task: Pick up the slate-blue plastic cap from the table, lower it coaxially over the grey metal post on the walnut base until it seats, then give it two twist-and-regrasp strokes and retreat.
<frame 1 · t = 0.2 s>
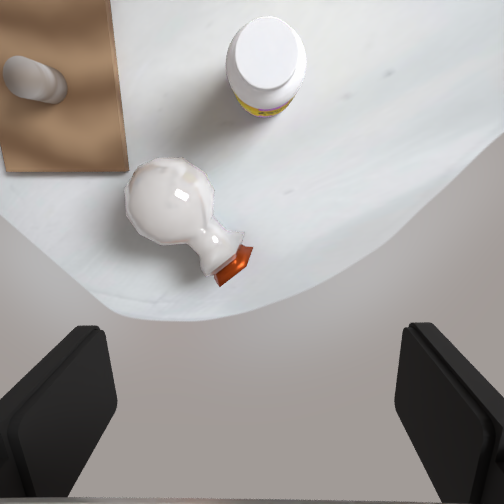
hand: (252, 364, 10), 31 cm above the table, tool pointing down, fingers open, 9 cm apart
potion bottle: (199, 212, 41), on the table
supplement bottle: (265, 85, 36), on the table
post base: (57, 87, 37), on the table
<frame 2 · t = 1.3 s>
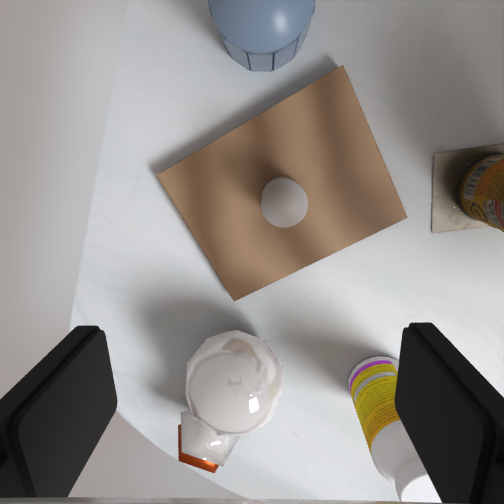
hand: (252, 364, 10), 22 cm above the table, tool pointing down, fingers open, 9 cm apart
potion bottle: (231, 371, 37), on the table
supplement bottle: (377, 378, 37), on the table
post base: (281, 194, 31), on the table
condiment: (479, 187, 30), on the table
cap: (263, 22, 27), on the table
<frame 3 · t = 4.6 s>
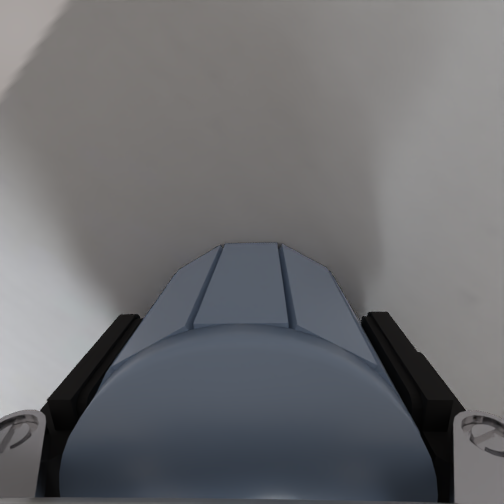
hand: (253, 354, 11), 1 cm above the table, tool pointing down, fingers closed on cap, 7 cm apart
cap: (254, 336, 12), on the table, touching gripper
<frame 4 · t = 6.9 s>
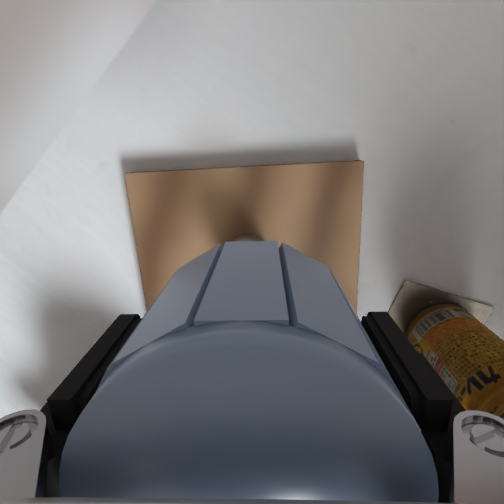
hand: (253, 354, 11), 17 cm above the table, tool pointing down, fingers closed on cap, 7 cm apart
post base: (248, 251, 28), on the table
condiment: (428, 326, 30), on the table
cap: (254, 335, 12), point 16 cm above the table, touching gripper
when the fingers open (4 cm above the table, at t = 9.5 s): cap drops 1 cm, resting on post base.
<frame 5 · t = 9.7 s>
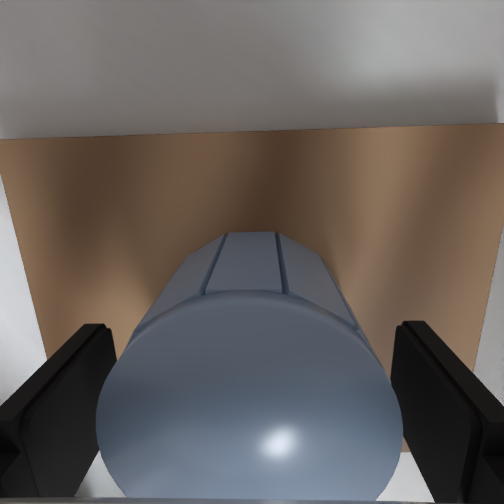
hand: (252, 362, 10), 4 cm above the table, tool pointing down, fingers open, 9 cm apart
post base: (255, 303, 14), on the table
cap: (254, 316, 13), point 1 cm above the table, touching post base
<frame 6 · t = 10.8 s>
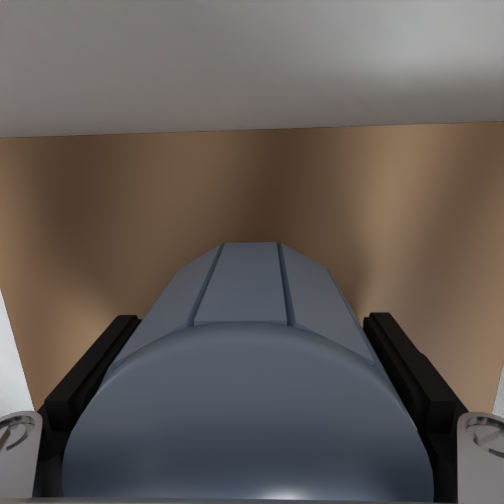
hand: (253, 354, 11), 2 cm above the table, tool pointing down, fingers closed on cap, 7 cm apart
post base: (255, 318, 13), on the table
cap: (253, 335, 12), point 1 cm above the table, touching gripper
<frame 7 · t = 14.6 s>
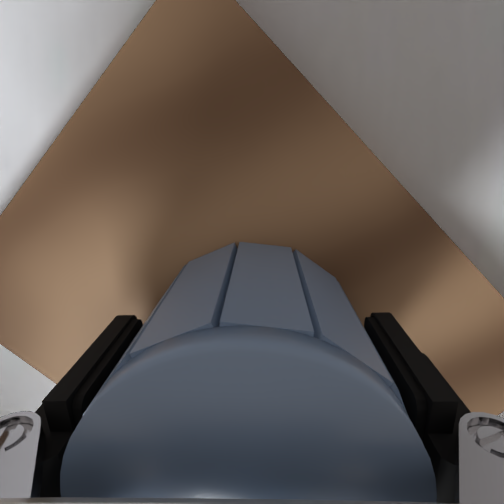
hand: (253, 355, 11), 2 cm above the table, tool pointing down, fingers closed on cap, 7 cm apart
post base: (254, 318, 13), on the table
cap: (253, 337, 12), point 1 cm above the table, touching gripper
when the fingers open (2 cm above the table, at t = 15.2 s): cap stays where it is, resting on post base.
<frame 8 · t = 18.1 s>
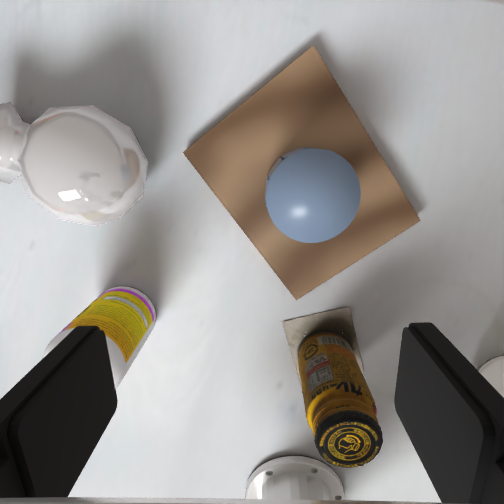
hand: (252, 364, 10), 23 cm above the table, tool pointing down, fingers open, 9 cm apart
potion bottle: (83, 160, 32), on the table
lidded jar: (501, 377, 37), on the table
supplement bottle: (128, 311, 37), on the table
post base: (302, 185, 32), on the table
condiment: (323, 345, 37), on the table
cap: (303, 188, 30), point 1 cm above the table, touching post base
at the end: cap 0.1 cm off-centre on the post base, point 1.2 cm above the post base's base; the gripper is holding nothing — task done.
